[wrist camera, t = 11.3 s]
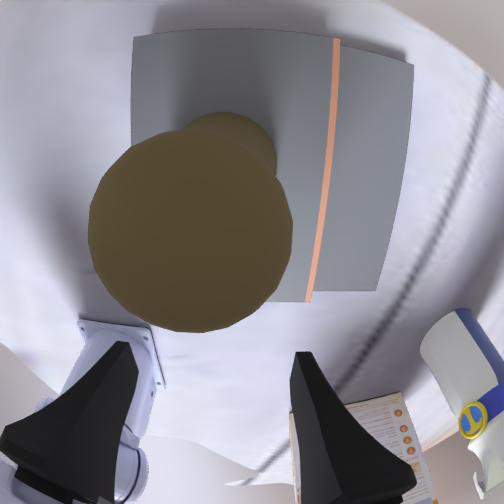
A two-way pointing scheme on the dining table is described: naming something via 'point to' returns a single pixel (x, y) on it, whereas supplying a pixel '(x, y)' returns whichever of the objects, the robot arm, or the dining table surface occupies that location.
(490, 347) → the white spray bottle
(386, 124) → the stepped stand
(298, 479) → the coffeecake box
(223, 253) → the cork
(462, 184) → the dining table surface
